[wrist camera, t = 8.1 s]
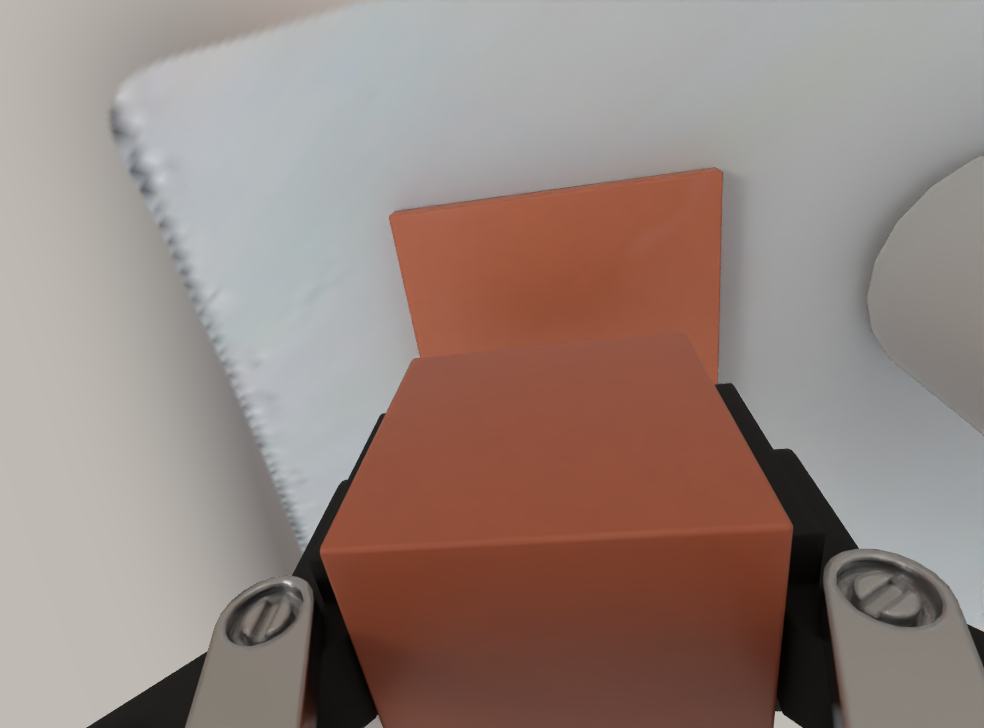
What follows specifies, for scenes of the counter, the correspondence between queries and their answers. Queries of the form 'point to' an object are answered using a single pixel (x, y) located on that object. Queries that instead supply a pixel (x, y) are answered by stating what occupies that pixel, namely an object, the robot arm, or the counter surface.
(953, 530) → the counter surface
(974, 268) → the can
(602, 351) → the terracotta block
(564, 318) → the sorting board
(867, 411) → the counter surface
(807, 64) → the counter surface
